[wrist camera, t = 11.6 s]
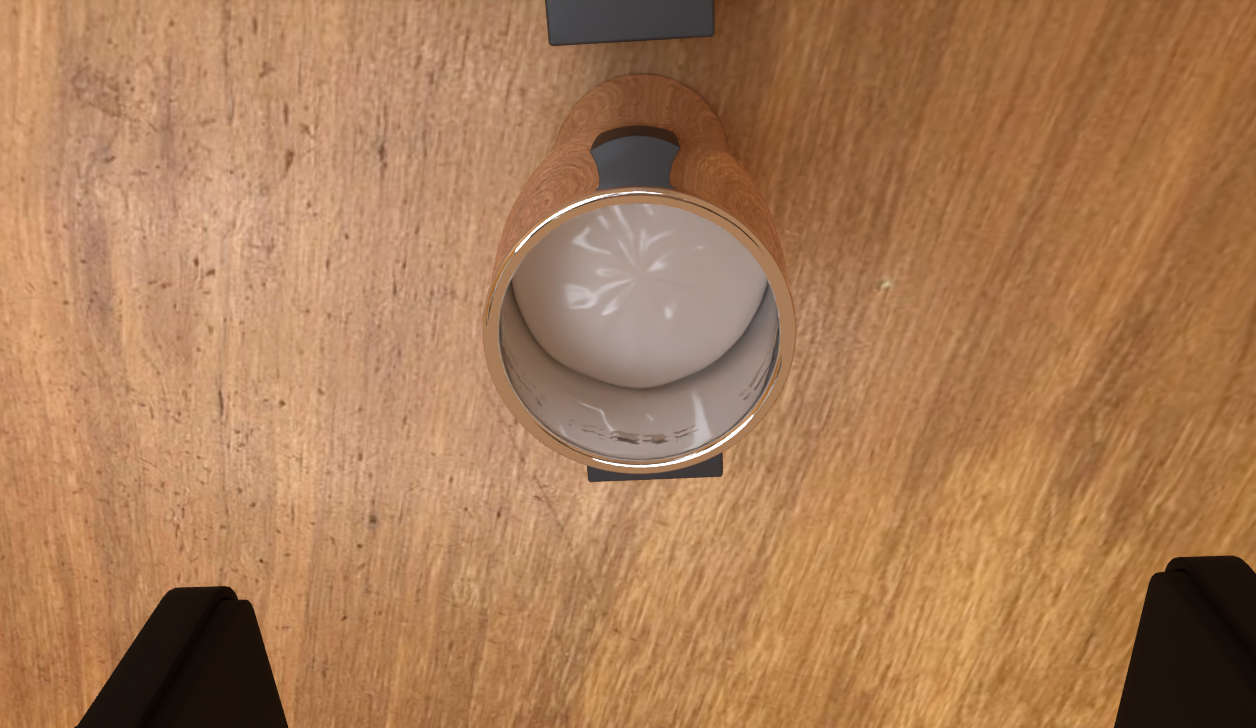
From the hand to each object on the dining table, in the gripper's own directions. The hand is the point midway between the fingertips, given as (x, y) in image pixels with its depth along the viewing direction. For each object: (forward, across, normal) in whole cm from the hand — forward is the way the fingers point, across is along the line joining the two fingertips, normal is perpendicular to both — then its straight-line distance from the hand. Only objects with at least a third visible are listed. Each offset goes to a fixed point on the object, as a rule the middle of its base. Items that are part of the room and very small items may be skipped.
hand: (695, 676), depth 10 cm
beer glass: (+26, +1, +1) cm, 26 cm away
